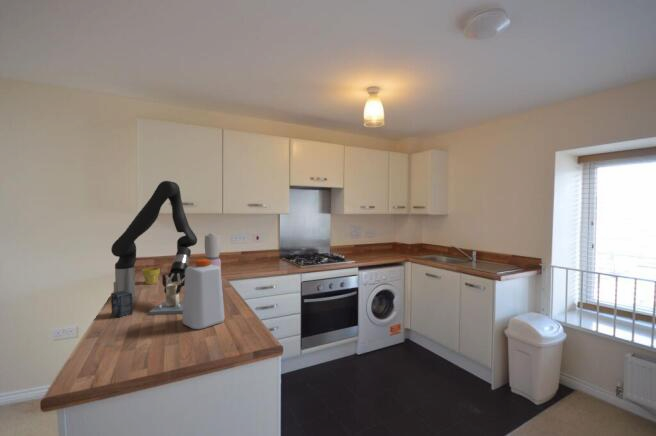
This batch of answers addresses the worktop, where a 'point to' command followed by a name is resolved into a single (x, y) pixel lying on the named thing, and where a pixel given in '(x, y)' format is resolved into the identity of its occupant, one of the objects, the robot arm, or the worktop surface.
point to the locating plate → (167, 309)
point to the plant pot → (151, 275)
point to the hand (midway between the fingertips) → (171, 292)
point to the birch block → (172, 295)
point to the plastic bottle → (203, 295)
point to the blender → (213, 248)
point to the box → (121, 303)
